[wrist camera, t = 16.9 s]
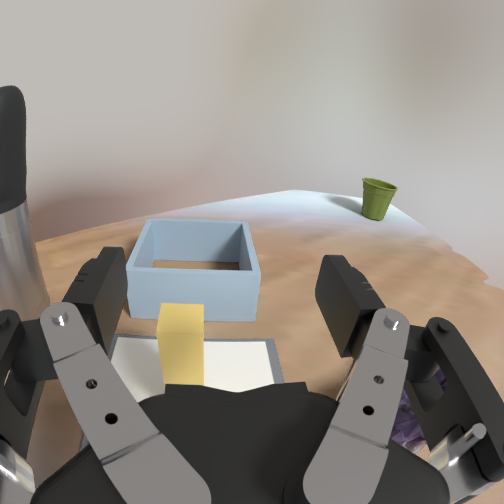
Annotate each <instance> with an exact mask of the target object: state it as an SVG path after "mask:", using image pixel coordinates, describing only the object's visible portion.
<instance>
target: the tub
mask: <svg viewBox="0 0 504 504" xmlns="http://www.w3.org/2000/svg"><path fill="white" fill-rule="evenodd" d="M154 260H175V261H206V262H239V268H240V271H239V270H202V269H171V268H152V267H153V263H154ZM126 272H127V280H128V291H127V298H128V304H129V310H130V315H131V318H140V319H158V318H159V313H160V308H161V303H177V304H204V321H220V322H255V317H256V310H257V303H258V295H259V288H260V280H261V272H260V269H259V265H258V261H257V257H256V253H255V250H254V246H253V242H252V238H251V234H250V230H249V227H248V223H247V221H223V220H195V219H159V218H148V220H147V222H146V224H145V226H144V228H143V230H142V232H141V234H140V236H139V238H138V240H137V242H136V245H135V247H134V249H133V251H132V253H131V255H130V258H129V260H128V262H127V264H126Z"/></svg>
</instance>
